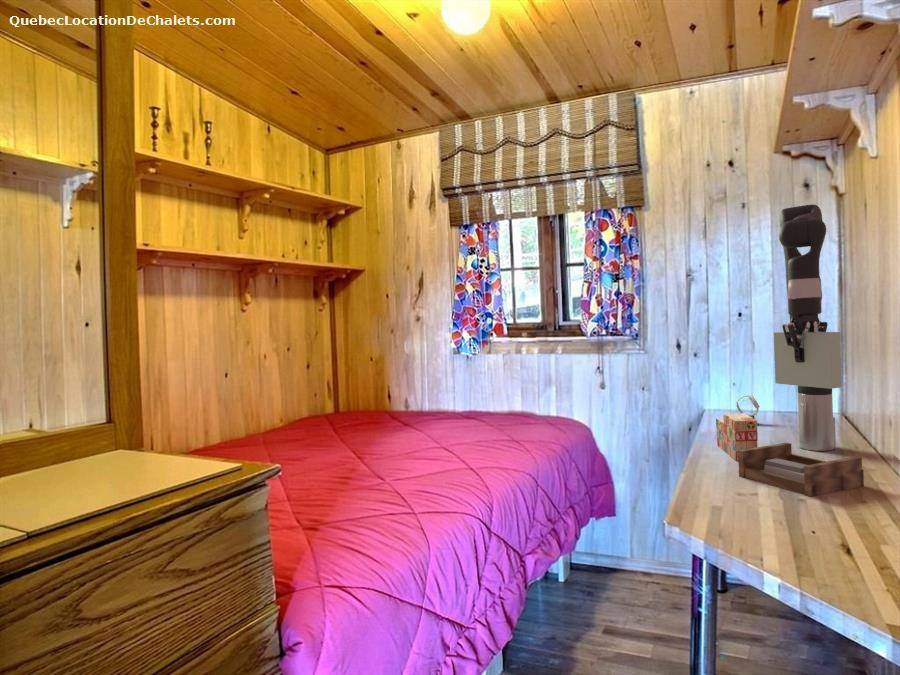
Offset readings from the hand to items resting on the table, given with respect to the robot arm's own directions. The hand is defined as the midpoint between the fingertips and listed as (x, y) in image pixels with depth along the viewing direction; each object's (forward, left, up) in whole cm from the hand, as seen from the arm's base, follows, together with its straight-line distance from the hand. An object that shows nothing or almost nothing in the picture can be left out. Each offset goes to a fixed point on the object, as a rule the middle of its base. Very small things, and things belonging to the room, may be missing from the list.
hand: (806, 361), depth 157 cm
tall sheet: (0, 0, -6) cm, 6 cm away
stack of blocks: (-4, -28, -31) cm, 42 cm away
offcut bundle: (+9, +2, -31) cm, 32 cm away
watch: (-43, -60, -30) cm, 80 cm away
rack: (+7, +3, -30) cm, 31 cm away
